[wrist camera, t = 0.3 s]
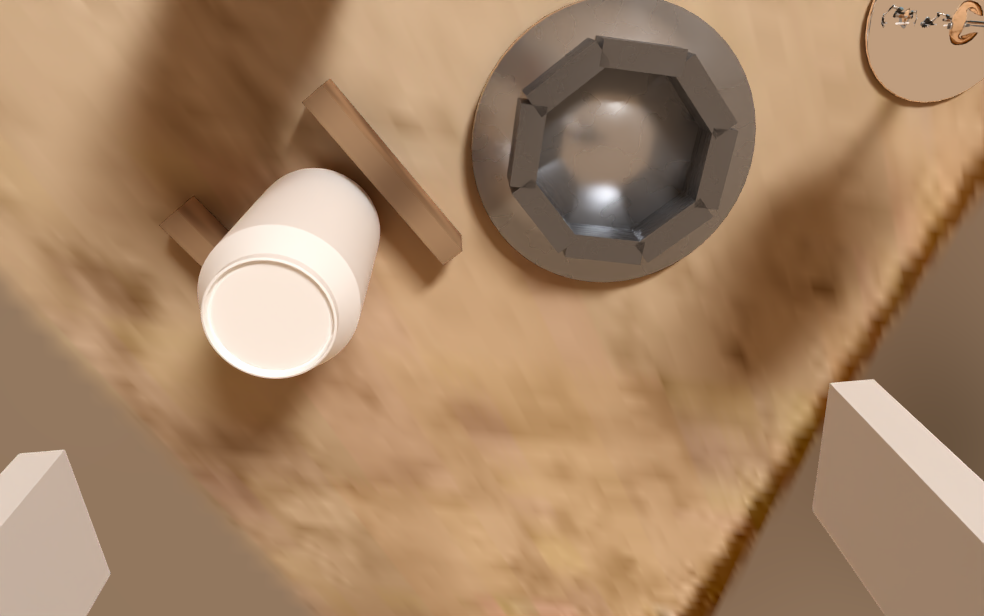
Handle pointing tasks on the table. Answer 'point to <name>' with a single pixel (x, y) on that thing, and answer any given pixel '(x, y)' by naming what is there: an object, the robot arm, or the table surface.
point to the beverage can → (291, 275)
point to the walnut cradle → (370, 155)
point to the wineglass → (926, 47)
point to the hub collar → (613, 138)
